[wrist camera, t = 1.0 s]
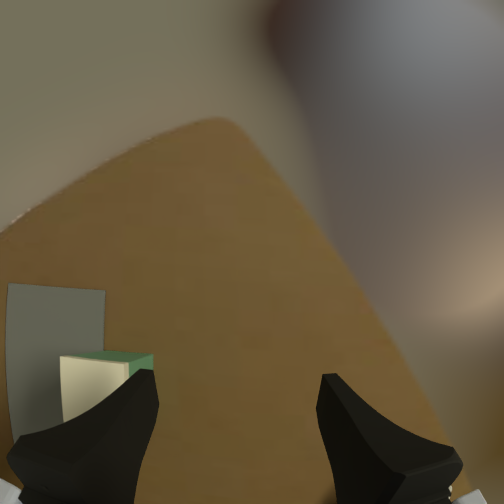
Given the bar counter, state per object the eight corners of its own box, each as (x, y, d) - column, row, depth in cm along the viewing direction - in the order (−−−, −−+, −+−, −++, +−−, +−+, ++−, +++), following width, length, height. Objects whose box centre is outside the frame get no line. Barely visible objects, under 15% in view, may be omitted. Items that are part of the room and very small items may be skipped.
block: (155, 423, 22) (130, 463, 14) (109, 418, 22) (67, 452, 13) (153, 354, 24) (124, 364, 15) (107, 350, 23) (59, 356, 15)
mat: (114, 486, 20) (113, 487, 20) (18, 461, 18) (17, 461, 18) (105, 290, 24) (104, 290, 24) (9, 283, 23) (8, 282, 23)
